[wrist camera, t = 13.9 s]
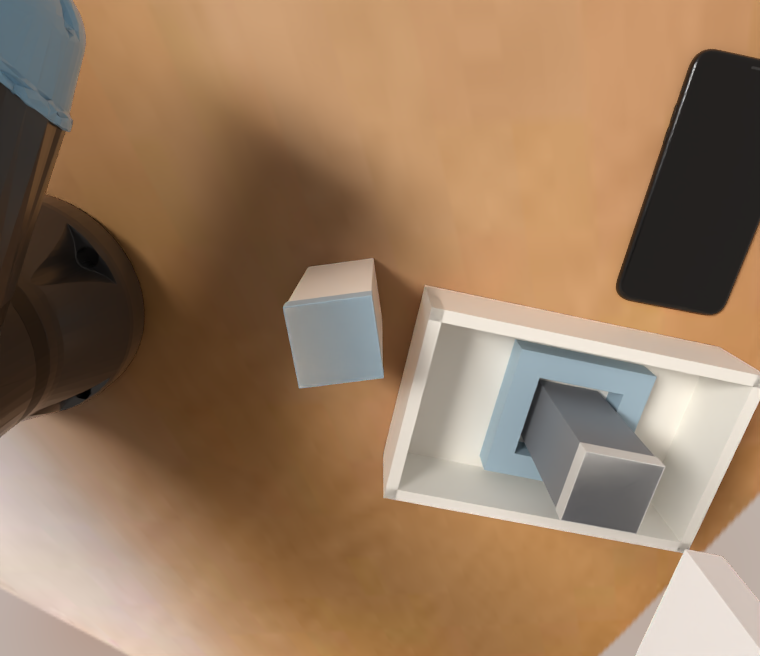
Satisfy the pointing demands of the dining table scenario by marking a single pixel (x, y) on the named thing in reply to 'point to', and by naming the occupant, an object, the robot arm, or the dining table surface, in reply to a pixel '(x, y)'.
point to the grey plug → (589, 458)
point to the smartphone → (700, 191)
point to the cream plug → (336, 324)
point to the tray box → (513, 399)
